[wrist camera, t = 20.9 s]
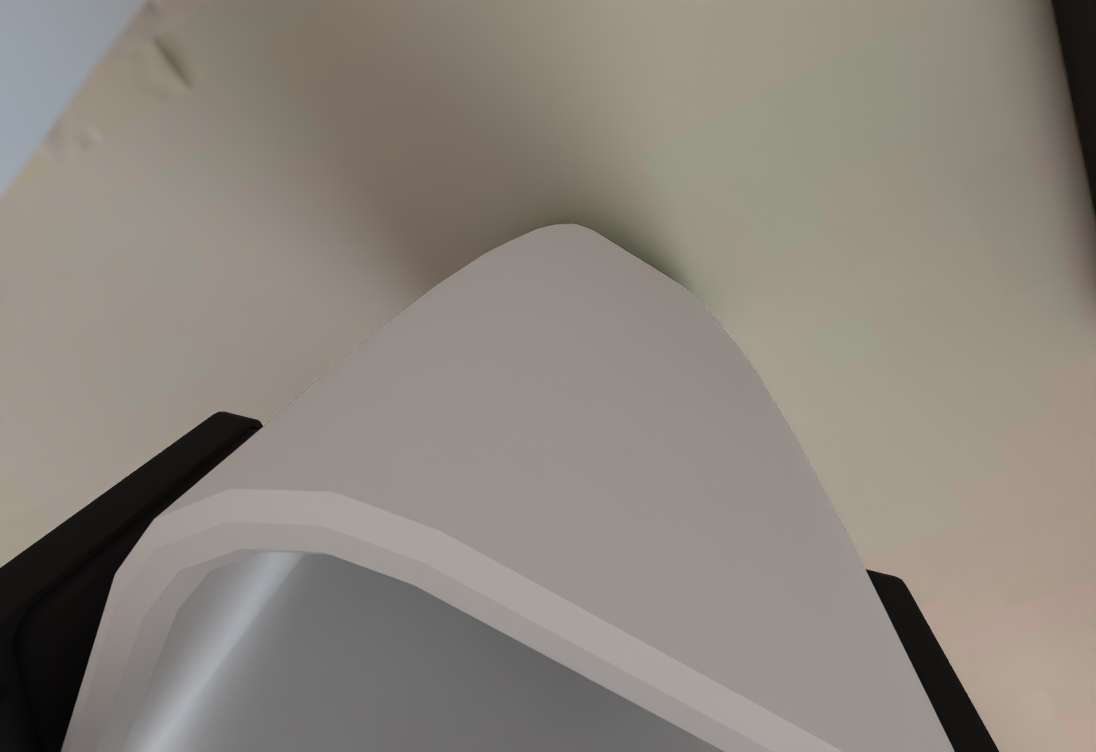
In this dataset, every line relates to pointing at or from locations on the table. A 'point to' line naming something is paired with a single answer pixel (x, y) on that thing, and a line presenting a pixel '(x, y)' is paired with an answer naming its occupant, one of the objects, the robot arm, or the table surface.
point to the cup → (510, 548)
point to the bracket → (1081, 72)
